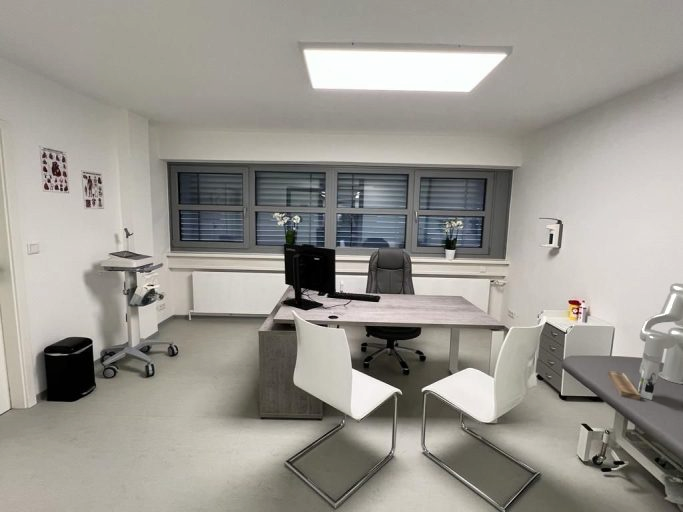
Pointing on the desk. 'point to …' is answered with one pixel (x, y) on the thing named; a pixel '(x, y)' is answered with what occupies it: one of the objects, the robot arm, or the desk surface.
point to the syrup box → (642, 388)
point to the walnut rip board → (624, 385)
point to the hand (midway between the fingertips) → (646, 388)
